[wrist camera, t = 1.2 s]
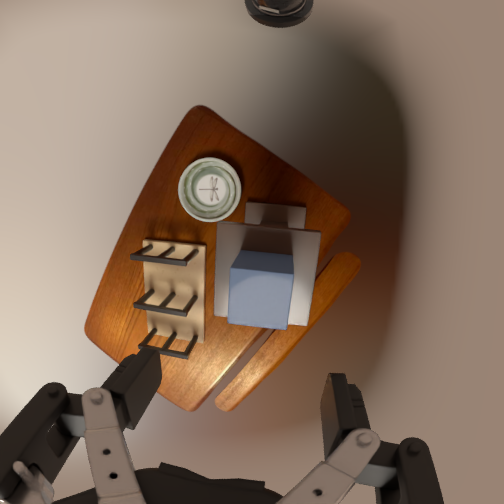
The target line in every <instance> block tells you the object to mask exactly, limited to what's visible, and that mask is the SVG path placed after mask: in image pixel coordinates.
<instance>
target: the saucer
mask: <svg viewBox="0 0 504 504" xmlns="http://www.w3.org/2000/svg"><path fill="white" fill-rule="evenodd" d="M178 193H179V199H180V202H181V204H182V206H183V207H184V209H185V210H186V211H187V212H188V213H189V214H190V215H191V216H192V217H194V218H196V219H198V220H201V221H205V222H215V221H219V220H222V219H224V218H226V217H227V216H229V215H230V214H231V213H232V212H233V211H234V210H235V208H236V207H237V205H238V203H239V200H240V197H241V183H240V179H239V177H238V175H237V173H236V171H235V170H234V169H233V167H232V166H230V165H229V164H228V163H227V162H225V161H223V160H221V159H218V158H212V157H208V158H202V159H199V160H196V161H195V162H193V163H191V164H190V165H189V166H188V167H187V168H186V169H185V170H184V172H183V174H182V176H181V178H180V181H179V186H178Z"/></svg>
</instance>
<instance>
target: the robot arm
mask: <svg viewBox="0 0 504 504" xmlns="http://www.w3.org/2000/svg"><path fill="white" fill-rule="evenodd" d="M252 3H253V5H254V7H255V8H256V9H257V10H258V11H259V12H261V13H263V14H265V15H268V16H272V17H288V16H292V15H294V14H296V13H298V12H300V11H301V10H302V9H303V7H304V6H305V3H306V0H252ZM161 380H162V370H161V361H160V352H159V350H158V349H153V348H149V347H142V349H141V350H140V351H139V352H138V354H137V355H135V354H131V355H130V356H128V357H126V358H124V359H123V361H122V362H121V363H120V364H119V366H118V367H117V368H116V369H115V371H114V372H113V373H112V374H111V375H110V376H109V377H108V379H107V380H106V381H105V382H104V384H103V385H102V386H101V387H100V388H91V389H89V390H87V391H85V393H84V394H83V395H82V394H73V393H67V390H66V387H65V386H64V385H62V384H61V383H56V382H52V383H48V384H46V385H44V386H43V387H42V388H41V389H40V390H39V391H38V392H37V393H36V395H35V396H34V397H33V398H32V399H31V400H30V401H29V403H28V404H27V405H26V406H25V407H24V408H23V409H22V410H21V412H20V413H19V414H18V415H17V416H16V417H15V419H14V420H13V421H12V422H11V423H10V424H9V426H8V427H7V428H6V429H5V430H4V432H3V433H2V434H1V435H0V504H339V503H340V502H341V501H342V500H343V498H344V497H345V496H346V495H347V493H348V492H349V491H350V490H351V488H352V487H353V486H354V485H355V483H359V484H364V485H369V486H374V487H375V492H376V503H377V504H444V501H443V497H442V493H441V489H440V486H439V482H438V478H437V475H436V471H435V468H434V464H433V461H432V457H431V454H430V451H429V448H428V446H427V444H426V443H425V442H424V441H422V440H421V439H419V438H414V437H413V438H412V437H411V438H406V439H404V440H403V441H402V442H401V443H400V444H394V443H388V442H384V441H381V440H380V438H379V436H378V435H377V434H376V433H375V432H374V431H372V430H371V428H370V424H369V421H368V416H367V413H366V409H365V407H364V406H365V405H364V401H363V398H362V395H361V391H360V390H359V389H358V388H357V387H356V385H355V384H348V383H347V379H346V375H345V374H343V373H329V374H328V377H327V380H326V384H325V387H324V391H323V394H322V398H321V407H320V408H321V420H322V431H323V442H324V455H325V461H324V462H323V461H321V462H320V463H319V464H318V465H317V466H316V467H315V468H314V469H313V470H312V471H311V472H310V473H309V474H308V475H307V476H306V477H304V478H303V479H302V480H301V482H299V483H298V484H297V485H296V486H295V487H294V488H293V489H292V490H291V491H290V492H288V493H287V494H286V495H285V496H284V497H283V496H282V495H280V494H278V493H276V492H274V491H272V490H269V489H266V488H264V486H265V482H264V481H255V480H246V479H239V478H238V479H208V478H206V477H204V476H201V475H199V474H197V473H194V472H192V471H190V470H188V469H185V468H181V467H178V466H173V465H170V464H166V463H163V462H161V464H160V466H159V468H146V469H139V470H135V468H134V465H133V462H132V459H131V456H130V453H129V451H128V448H127V444H126V441H125V438H124V435H123V431H124V429H125V428H129V429H132V430H134V429H135V427H136V425H137V424H138V422H139V420H140V418H141V417H142V415H143V413H144V412H145V410H146V408H147V406H148V405H149V403H150V401H151V400H152V398H153V396H154V394H155V393H156V391H157V389H158V388H159V386H160V384H161ZM52 425H53V426H52ZM49 429H50V430H49ZM47 432H48V433H47ZM80 437H84V438H85V443H86V448H87V453H88V458H89V463H90V467H91V472H92V476H93V480H94V483H95V487H94V488H92V489H89V490H86V491H84V492H81V493H78V494H76V495H72V496H69V497H66V498H63V499H60V500H57V501H54V502H53V497H54V489H53V487H52V483H53V482H54V480H55V478H56V477H57V475H58V473H59V471H60V470H61V468H62V467H63V465H64V463H65V462H66V460H67V458H68V457H69V455H70V453H71V452H72V450H73V449H74V447H75V445H76V444H77V442H78V441H79V439H80Z"/></svg>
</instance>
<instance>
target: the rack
mask: <svg viewBox="0 0 504 504" xmlns="http://www.w3.org/2000/svg"><path fill="white" fill-rule="evenodd" d="M130 260H137V261H144V283H145V294H144V295H143V296H142V297H141V298H140V299H139V300H138V301H137V302H134V303H133V305H134V308H138V309H143V310H146V312H147V323H148V333H149V334H148V335H147V336H146V337H145V339H144V340H143V341H142V342H141V343H140V344H139V345H138V348H139V349H142V347H149V348H153V349H158V350H159V352H160V354H163V355H167V356H172V357H177V358H182V359H188V358H189V355H190V353H191V351H192V349H193V347H194V346H195V344H196V342H199V343H204V341H205V280H206V245H199V244H189V243H179V242H169V241H159V240H149V239H145V240H143V248H142V249H140V250H138V251H137V252H135V253H132V254H130ZM144 302H146V303H144ZM155 334H156V335H161V336H166V337H169V338H168V340H167V341H166V342H165V344H164V345H163V347H162V348H159V347H155V346H150V345H147V344H148V343H149V341H150V340H151V339H152V338H153V336H154V335H155ZM175 338H176V339H182V340H187V341H190V343H189V344H188V346H187V348H186V350H185V352H179V351H174V350H169V349H168V348H169V347H170V345H171V344H172V342H173V341H174V339H175Z"/></svg>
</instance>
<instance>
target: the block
mask: <svg viewBox="0 0 504 504" xmlns="http://www.w3.org/2000/svg"><path fill="white" fill-rule="evenodd" d="M293 281H294V263H293V255H286V254H276V253H266V252H256V251H246V250H240V252H239V254H238V255H237V257H236V259H235V260H234V262H233V264H232V265H231V267H230V278H229V298H228V320H227V322H228V323H230V324H238V325H246V326H254V327H263V328H272V329H282V330H287V325H288V318H289V311H290V304H291V297H292V289H293Z"/></svg>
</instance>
